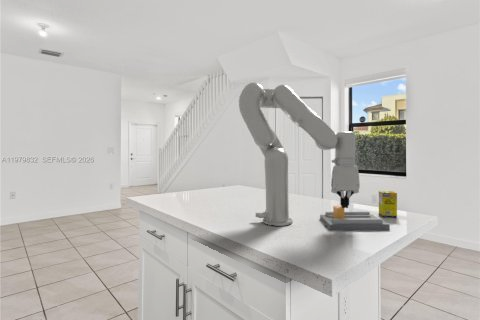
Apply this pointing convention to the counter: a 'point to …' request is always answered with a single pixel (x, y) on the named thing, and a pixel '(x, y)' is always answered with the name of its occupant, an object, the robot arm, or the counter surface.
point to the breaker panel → (329, 223)
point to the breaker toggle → (338, 212)
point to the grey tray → (356, 221)
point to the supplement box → (388, 204)
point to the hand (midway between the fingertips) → (344, 207)
